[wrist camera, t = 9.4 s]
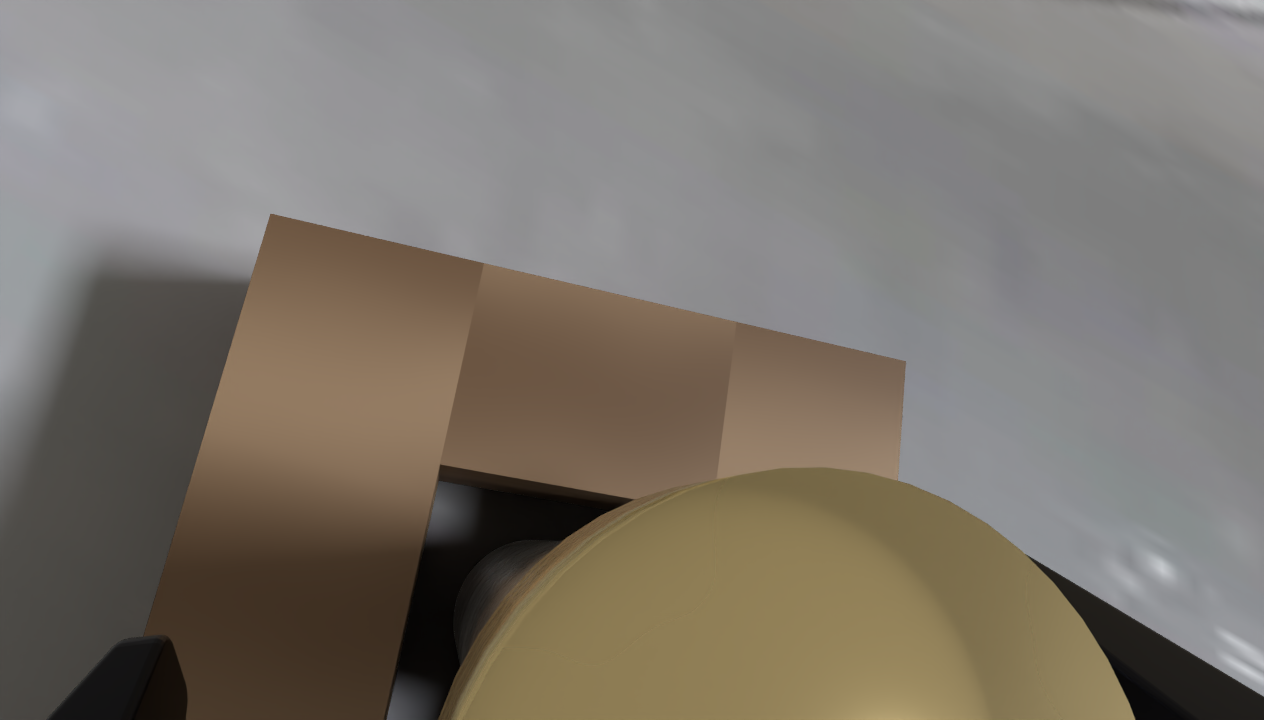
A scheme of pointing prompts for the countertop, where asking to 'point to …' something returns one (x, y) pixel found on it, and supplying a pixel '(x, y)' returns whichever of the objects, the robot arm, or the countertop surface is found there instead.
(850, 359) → the socket block
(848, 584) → the steel pin
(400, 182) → the countertop surface
